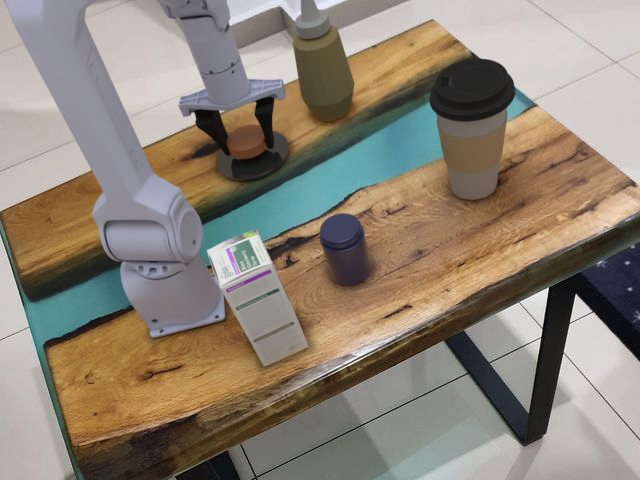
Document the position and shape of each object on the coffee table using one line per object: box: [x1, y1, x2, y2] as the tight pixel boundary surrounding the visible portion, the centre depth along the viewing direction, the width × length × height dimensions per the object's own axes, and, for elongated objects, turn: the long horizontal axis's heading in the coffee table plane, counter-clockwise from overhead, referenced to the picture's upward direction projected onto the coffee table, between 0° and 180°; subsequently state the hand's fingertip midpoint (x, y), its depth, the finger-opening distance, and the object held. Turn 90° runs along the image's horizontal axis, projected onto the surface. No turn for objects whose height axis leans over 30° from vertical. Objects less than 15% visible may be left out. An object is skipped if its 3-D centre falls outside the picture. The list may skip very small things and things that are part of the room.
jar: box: [319, 212, 373, 287], centre depth 76 cm, size 5×5×7 cm
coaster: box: [216, 130, 291, 183], centre depth 96 cm, size 11×11×1 cm
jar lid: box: [226, 123, 267, 159], centre depth 94 cm, size 6×6×2 cm
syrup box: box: [206, 228, 309, 367], centre depth 69 cm, size 6×6×14 cm
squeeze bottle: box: [292, 0, 355, 122], centre depth 91 cm, size 8×8×18 cm
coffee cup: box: [428, 58, 516, 201], centre depth 77 cm, size 9×9×15 cm
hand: (250, 147), depth 94 cm, fingers closed on jar lid, 6 cm apart
